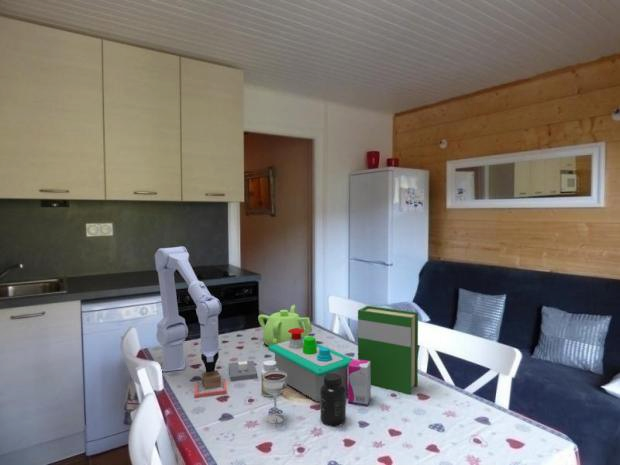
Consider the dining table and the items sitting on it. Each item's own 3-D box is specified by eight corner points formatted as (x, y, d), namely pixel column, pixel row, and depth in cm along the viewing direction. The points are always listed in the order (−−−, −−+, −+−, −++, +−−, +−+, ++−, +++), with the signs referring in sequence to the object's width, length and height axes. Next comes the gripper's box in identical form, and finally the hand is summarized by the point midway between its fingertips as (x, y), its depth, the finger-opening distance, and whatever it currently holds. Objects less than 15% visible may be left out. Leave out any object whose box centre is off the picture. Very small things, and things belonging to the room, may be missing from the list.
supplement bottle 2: (316, 416, 107) (316, 374, 107) (338, 411, 110) (338, 369, 109) (327, 429, 101) (327, 384, 100) (350, 423, 104) (350, 379, 103)
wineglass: (258, 417, 107) (257, 374, 106) (278, 409, 111) (277, 368, 111) (272, 427, 102) (271, 383, 101) (292, 418, 106) (292, 375, 106)
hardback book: (417, 385, 126) (418, 312, 124) (410, 394, 119) (410, 317, 118) (367, 373, 135) (367, 305, 134) (358, 381, 129) (357, 310, 127)
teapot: (272, 354, 154) (271, 318, 154) (256, 339, 172) (255, 307, 172) (314, 346, 163) (313, 312, 162) (294, 333, 181) (294, 302, 180)
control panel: (320, 353, 110) (265, 328, 134) (321, 409, 111) (266, 375, 135) (358, 341, 120) (301, 320, 143) (358, 394, 120) (301, 364, 144)
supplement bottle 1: (276, 397, 118) (275, 366, 118) (259, 396, 119) (258, 365, 119) (281, 389, 123) (280, 359, 123) (264, 388, 125) (264, 358, 124)
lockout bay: (195, 384, 127) (195, 381, 127) (225, 381, 130) (225, 378, 130) (194, 397, 119) (194, 394, 119) (226, 393, 121) (226, 390, 121)
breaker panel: (228, 367, 142) (228, 363, 141) (253, 364, 144) (253, 360, 144) (230, 381, 130) (230, 376, 130) (257, 378, 132) (257, 373, 132)
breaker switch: (238, 368, 136) (238, 362, 136) (246, 367, 137) (246, 361, 137) (238, 370, 134) (238, 364, 134) (247, 370, 134) (247, 363, 134)
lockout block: (202, 383, 128) (202, 373, 128) (217, 380, 131) (217, 370, 130) (205, 389, 124) (204, 379, 124) (220, 386, 126) (220, 376, 126)
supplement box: (371, 397, 118) (371, 360, 117) (367, 406, 112) (367, 368, 112) (352, 394, 120) (352, 358, 119) (347, 403, 114) (347, 365, 114)
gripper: (222, 341, 124) (223, 382, 125) (220, 328, 138) (221, 365, 139) (199, 343, 122) (200, 385, 123) (200, 329, 136) (201, 367, 137)
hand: (210, 375), depth 131 cm, fingers closed
